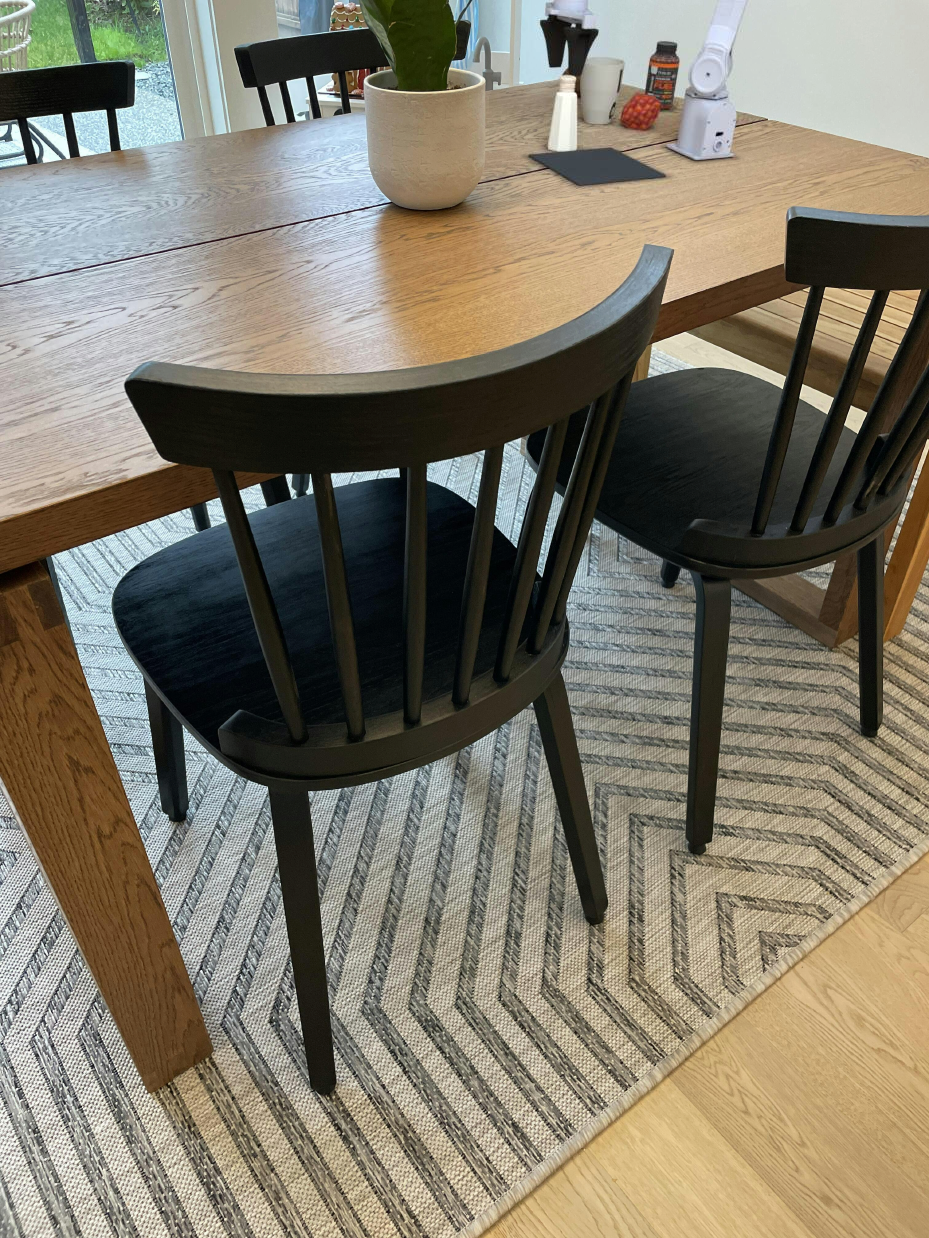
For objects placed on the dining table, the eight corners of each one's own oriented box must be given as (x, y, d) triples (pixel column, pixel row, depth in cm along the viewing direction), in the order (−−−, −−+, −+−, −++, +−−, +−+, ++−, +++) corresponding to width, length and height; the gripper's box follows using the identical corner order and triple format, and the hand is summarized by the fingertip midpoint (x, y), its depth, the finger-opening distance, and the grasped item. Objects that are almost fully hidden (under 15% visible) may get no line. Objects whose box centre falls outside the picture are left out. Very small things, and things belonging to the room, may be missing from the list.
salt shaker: (554, 153, 158) (560, 80, 151) (541, 145, 162) (546, 74, 155) (582, 151, 160) (589, 78, 152) (568, 143, 163) (575, 72, 156)
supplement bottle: (650, 111, 184) (659, 45, 177) (638, 104, 189) (646, 40, 181) (677, 110, 186) (687, 45, 178) (664, 103, 190) (674, 39, 183)
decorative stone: (625, 136, 177) (666, 121, 174) (622, 139, 172) (665, 123, 169) (616, 101, 175) (658, 84, 172) (613, 102, 169) (656, 85, 166)
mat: (665, 177, 149) (666, 175, 148) (578, 186, 144) (578, 184, 143) (610, 149, 161) (610, 147, 161) (528, 156, 156) (528, 154, 156)
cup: (620, 127, 174) (627, 66, 167) (577, 126, 174) (582, 65, 167) (616, 116, 180) (622, 57, 173) (574, 115, 180) (579, 56, 173)
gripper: (531, -29, 155) (526, 64, 164) (571, -18, 145) (563, 81, 154) (569, -29, 157) (561, 63, 166) (610, -18, 147) (600, 79, 156)
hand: (564, 71), depth 160 cm, fingers open, 7 cm apart
